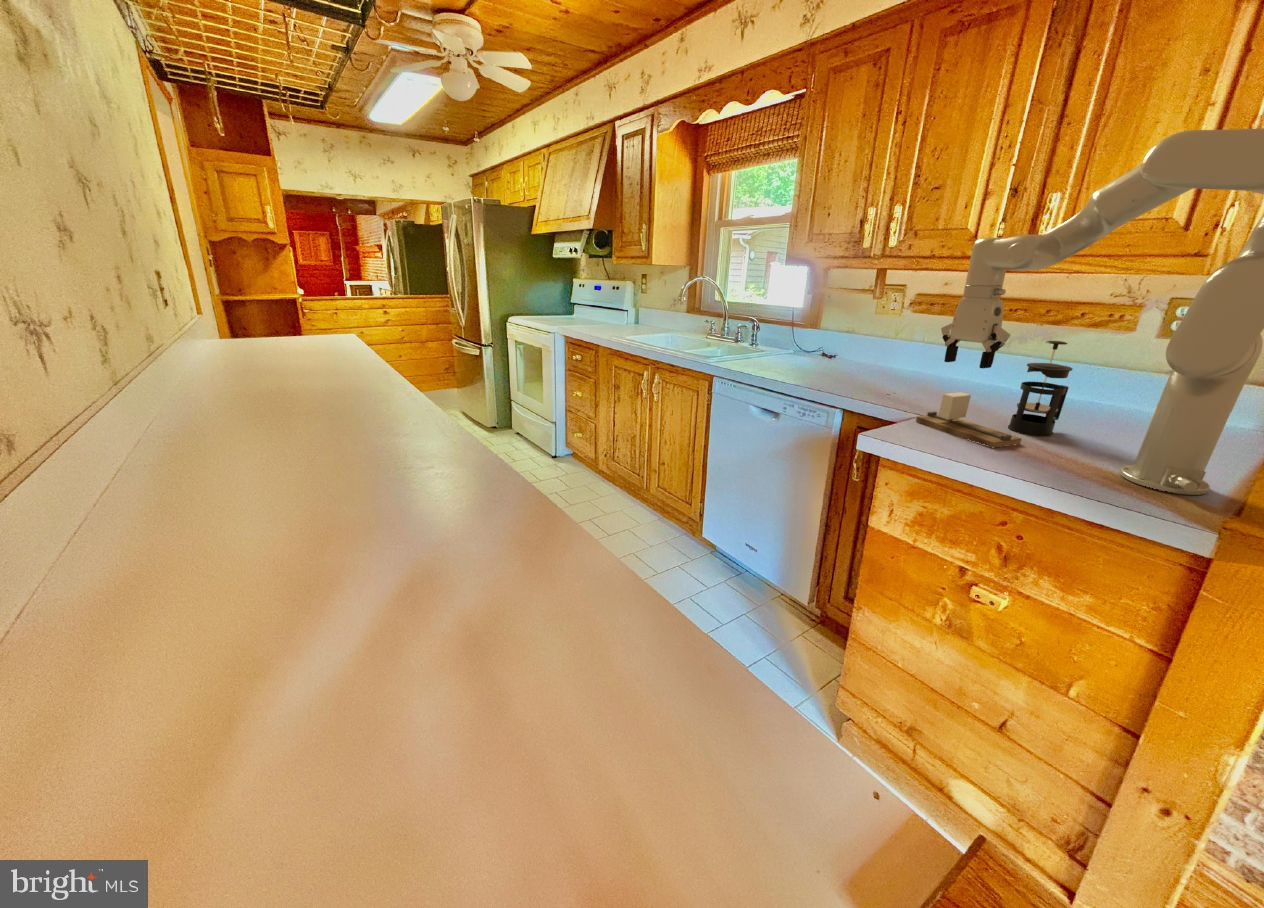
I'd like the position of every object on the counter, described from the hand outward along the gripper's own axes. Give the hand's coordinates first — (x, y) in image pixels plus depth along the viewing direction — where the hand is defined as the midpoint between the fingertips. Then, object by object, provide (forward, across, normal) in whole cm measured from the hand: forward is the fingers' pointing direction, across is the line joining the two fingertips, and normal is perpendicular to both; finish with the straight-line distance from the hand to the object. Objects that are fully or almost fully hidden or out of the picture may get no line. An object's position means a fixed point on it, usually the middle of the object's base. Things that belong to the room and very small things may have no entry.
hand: (966, 364), depth 127 cm
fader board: (+17, -3, 0) cm, 17 cm away
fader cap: (+15, +1, 0) cm, 15 cm away
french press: (+17, -8, -18) cm, 26 cm away
